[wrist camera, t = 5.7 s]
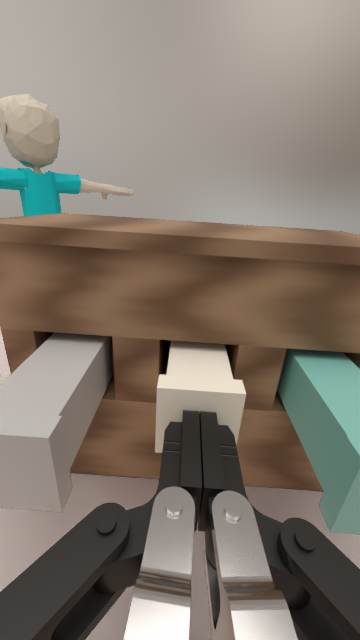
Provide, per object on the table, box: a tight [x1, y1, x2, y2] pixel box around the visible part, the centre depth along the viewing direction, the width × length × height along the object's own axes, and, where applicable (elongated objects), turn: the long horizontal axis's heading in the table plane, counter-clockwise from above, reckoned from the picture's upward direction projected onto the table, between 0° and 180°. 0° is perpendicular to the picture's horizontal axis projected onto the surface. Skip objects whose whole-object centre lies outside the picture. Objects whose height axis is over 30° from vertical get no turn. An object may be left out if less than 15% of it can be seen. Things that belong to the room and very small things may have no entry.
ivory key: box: [155, 340, 246, 453], centre depth 16 cm, size 4×9×4 cm, turn 178°
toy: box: [0, 94, 134, 216], centre depth 42 cm, size 30×9×30 cm, turn 126°
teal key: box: [277, 348, 360, 534], centre depth 14 cm, size 4×9×4 cm, turn 178°
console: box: [0, 213, 360, 491], centre depth 21 cm, size 23×11×17 cm, turn 88°
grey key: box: [0, 332, 114, 512], centre depth 14 cm, size 4×9×4 cm, turn 178°
